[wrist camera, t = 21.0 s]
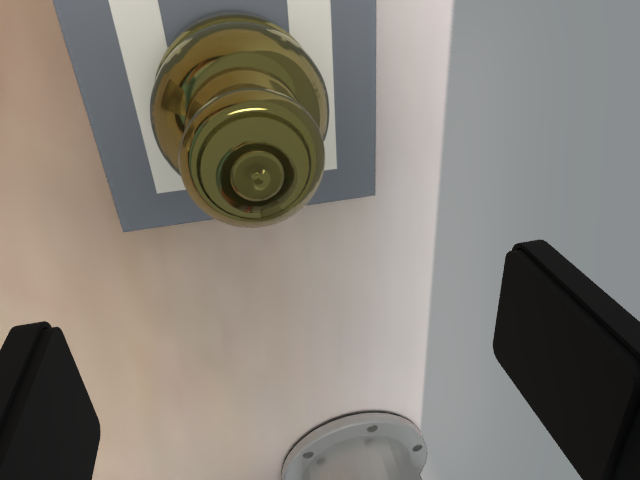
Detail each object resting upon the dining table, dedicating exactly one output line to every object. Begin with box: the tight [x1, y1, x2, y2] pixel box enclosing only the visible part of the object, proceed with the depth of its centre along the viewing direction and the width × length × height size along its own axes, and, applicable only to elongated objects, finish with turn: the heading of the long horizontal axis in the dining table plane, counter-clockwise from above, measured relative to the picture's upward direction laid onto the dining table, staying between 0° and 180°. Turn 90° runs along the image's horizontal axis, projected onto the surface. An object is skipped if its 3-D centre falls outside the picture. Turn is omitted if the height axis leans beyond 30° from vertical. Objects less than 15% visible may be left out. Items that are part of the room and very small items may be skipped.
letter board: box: [53, 0, 376, 232], centre depth 25 cm, size 14×14×1 cm
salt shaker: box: [150, 10, 329, 228], centre depth 21 cm, size 7×7×10 cm
